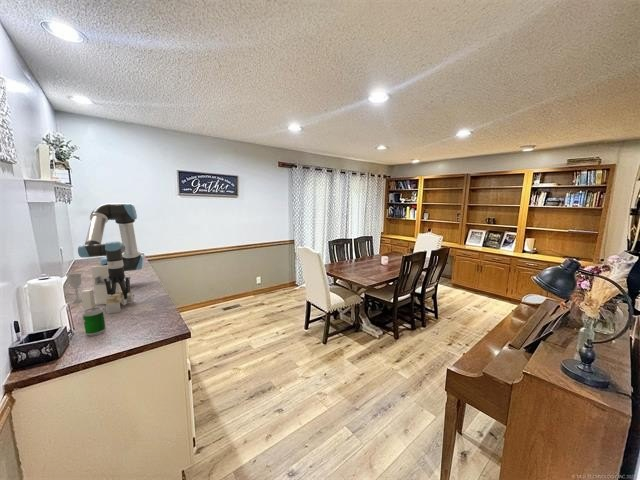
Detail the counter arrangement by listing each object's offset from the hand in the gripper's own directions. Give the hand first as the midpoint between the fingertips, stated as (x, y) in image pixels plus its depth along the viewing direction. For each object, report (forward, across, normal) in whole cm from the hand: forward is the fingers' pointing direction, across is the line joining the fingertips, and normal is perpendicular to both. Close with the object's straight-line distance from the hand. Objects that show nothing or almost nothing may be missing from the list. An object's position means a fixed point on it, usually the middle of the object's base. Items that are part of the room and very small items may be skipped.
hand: (120, 304), depth 162 cm
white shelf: (+2, -12, +1) cm, 12 cm away
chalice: (+2, -33, +16) cm, 37 cm away
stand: (+2, 0, 0) cm, 2 cm away
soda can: (+2, +6, -34) cm, 35 cm away
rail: (-3, 0, 0) cm, 3 cm away
